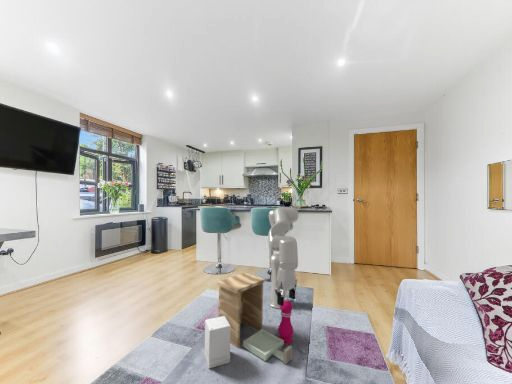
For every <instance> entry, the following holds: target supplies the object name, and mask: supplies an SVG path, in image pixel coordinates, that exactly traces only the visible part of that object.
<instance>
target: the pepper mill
mask: <svg viewBox="0 0 512 384" xmlns="http://www.w3.org/2000/svg"><path fill="white" fill-rule="evenodd" d="M279 310H280V316H281V320H280V323H279V326H278V330H277V331H278V335H279V336H278V338H280V339H282V340H284V345H290V344H292V343H293V336H294V327H293V324H292V321H291V317H292V310H293V303H292V301H290V300H289V297H288V298H285V299H284V306H281V305H280V309H279Z"/></svg>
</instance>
